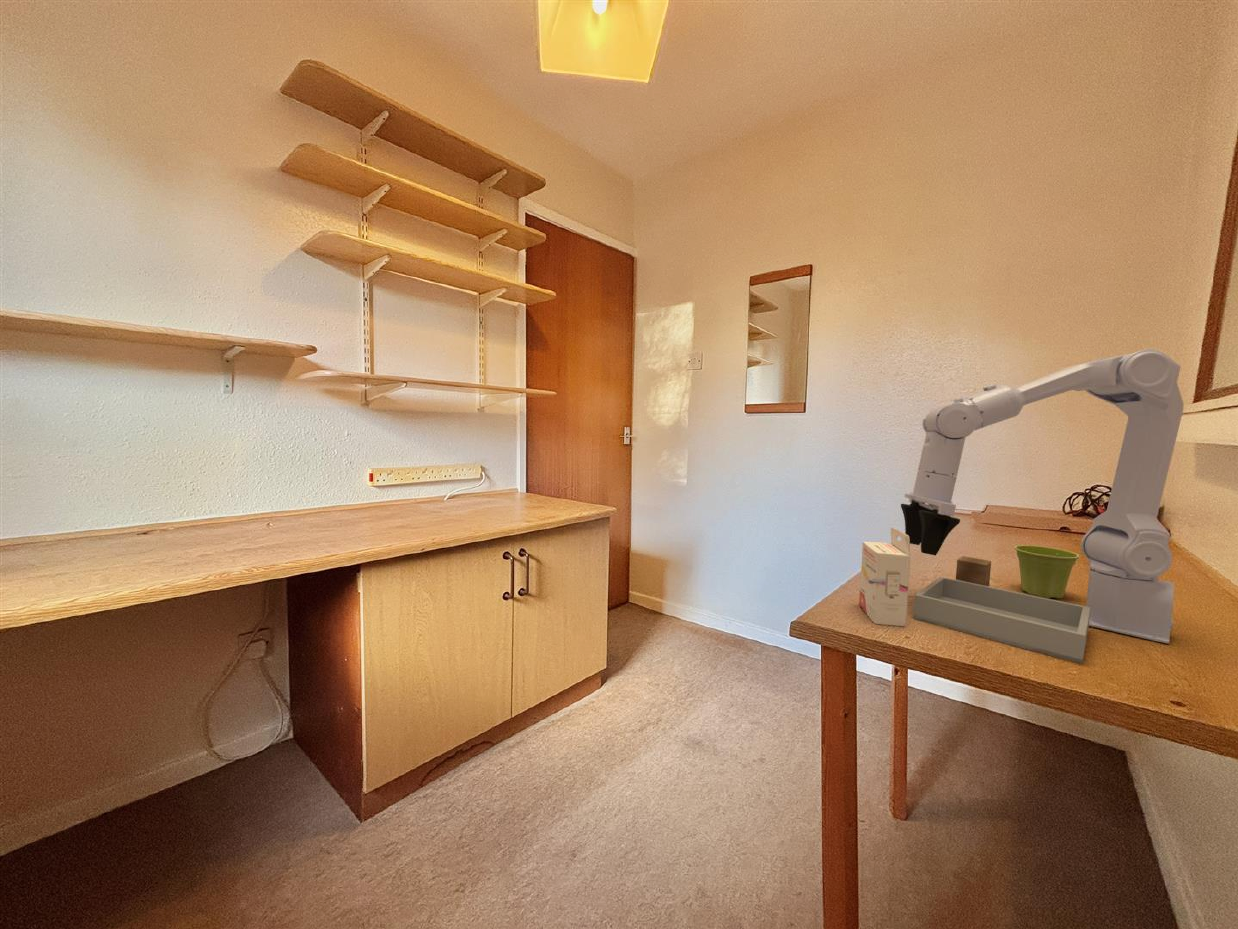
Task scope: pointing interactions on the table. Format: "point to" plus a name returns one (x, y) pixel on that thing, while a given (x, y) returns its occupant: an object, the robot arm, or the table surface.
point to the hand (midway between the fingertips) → (920, 548)
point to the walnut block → (973, 570)
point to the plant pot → (1045, 570)
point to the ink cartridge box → (886, 579)
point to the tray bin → (1006, 617)
